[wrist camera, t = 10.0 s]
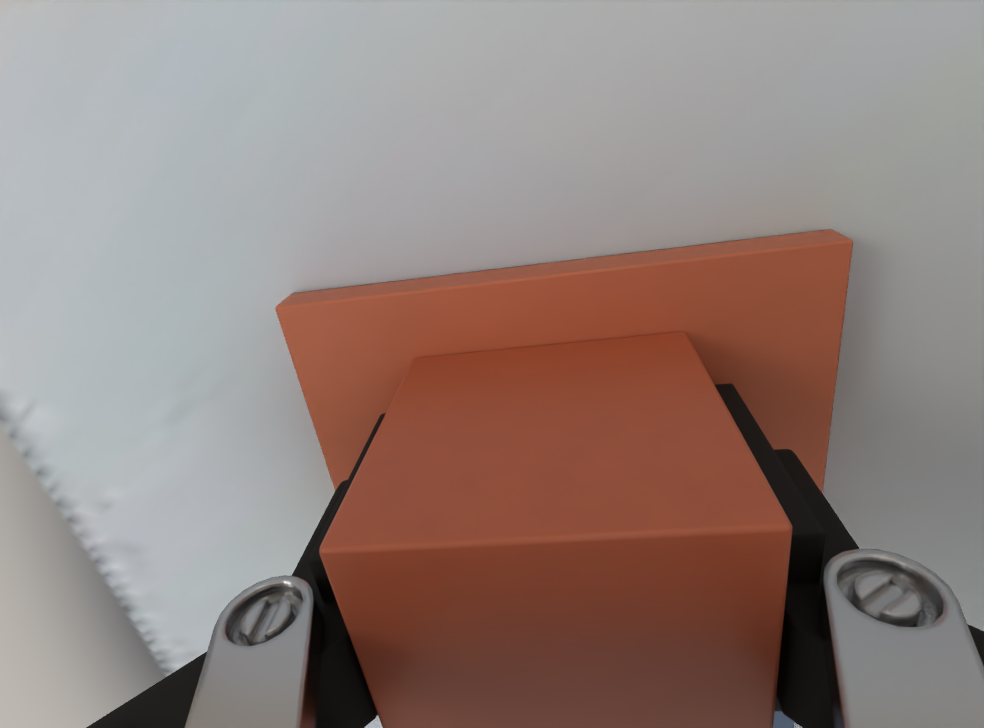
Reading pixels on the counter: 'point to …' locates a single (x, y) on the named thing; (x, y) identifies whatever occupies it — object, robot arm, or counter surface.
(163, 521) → the counter surface
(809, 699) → the robot arm
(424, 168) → the counter surface
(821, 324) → the sorting board
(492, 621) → the terracotta block
